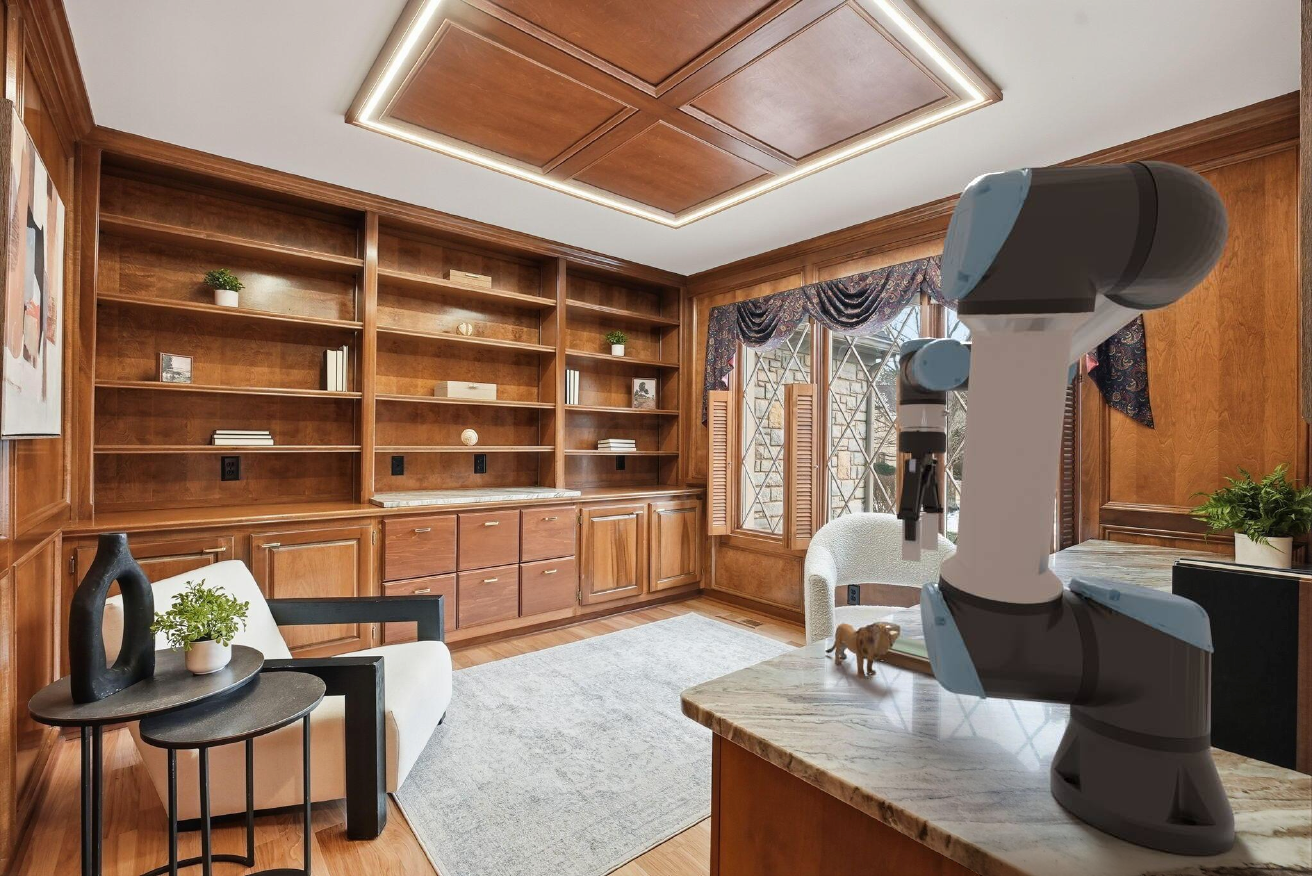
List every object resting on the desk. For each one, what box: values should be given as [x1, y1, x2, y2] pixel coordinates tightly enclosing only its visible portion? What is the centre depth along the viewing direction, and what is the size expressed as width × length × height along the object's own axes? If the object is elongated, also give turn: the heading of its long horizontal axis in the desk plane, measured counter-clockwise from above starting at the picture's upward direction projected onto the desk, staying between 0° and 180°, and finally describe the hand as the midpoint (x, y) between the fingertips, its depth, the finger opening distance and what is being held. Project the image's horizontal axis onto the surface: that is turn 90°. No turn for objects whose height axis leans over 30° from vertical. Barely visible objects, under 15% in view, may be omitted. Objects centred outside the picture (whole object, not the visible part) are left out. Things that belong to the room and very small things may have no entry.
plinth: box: [878, 631, 935, 676], centre depth 108 cm, size 10×21×3 cm, turn 43°
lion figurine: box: [825, 622, 896, 678], centre depth 106 cm, size 15×5×9 cm, turn 27°
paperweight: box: [872, 621, 901, 636], centre depth 122 cm, size 5×5×3 cm
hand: (920, 555), depth 107 cm, fingers open, 13 cm apart
